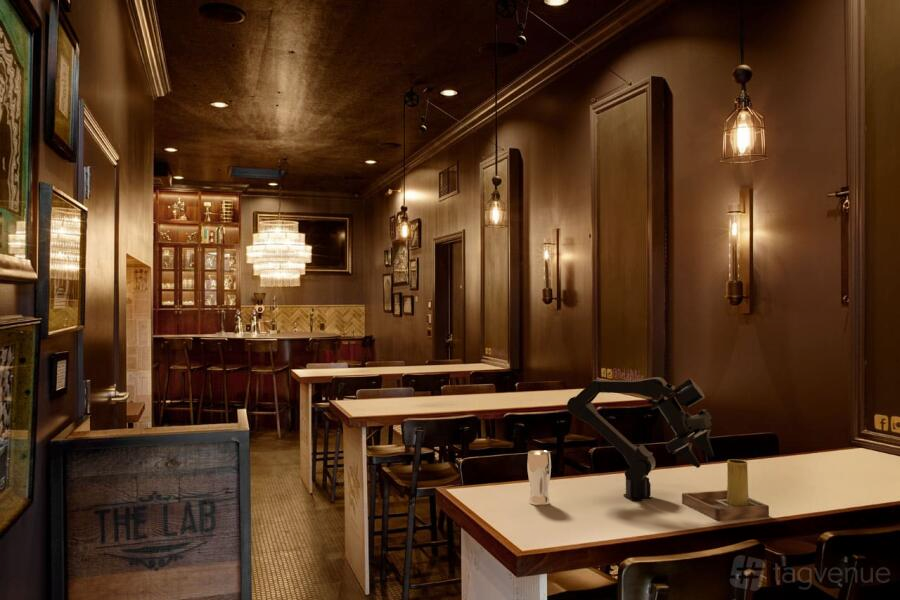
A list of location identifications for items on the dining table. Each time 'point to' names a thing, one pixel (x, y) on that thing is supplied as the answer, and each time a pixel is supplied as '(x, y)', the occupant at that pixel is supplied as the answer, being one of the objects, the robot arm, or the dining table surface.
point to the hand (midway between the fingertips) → (706, 461)
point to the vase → (737, 483)
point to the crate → (706, 506)
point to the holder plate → (724, 504)
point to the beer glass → (539, 476)
